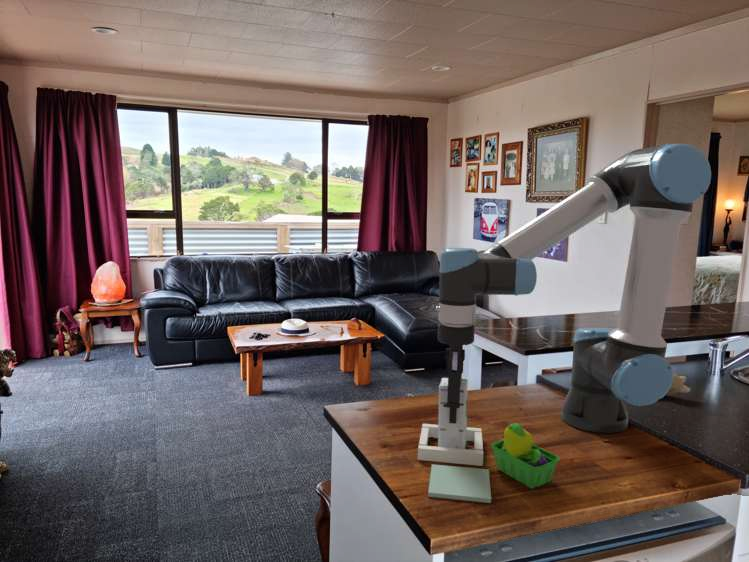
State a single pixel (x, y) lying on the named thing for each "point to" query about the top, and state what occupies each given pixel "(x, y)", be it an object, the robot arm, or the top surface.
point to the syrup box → (461, 441)
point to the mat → (460, 483)
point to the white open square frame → (451, 453)
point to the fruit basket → (524, 457)
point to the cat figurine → (678, 385)
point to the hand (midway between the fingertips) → (452, 430)
